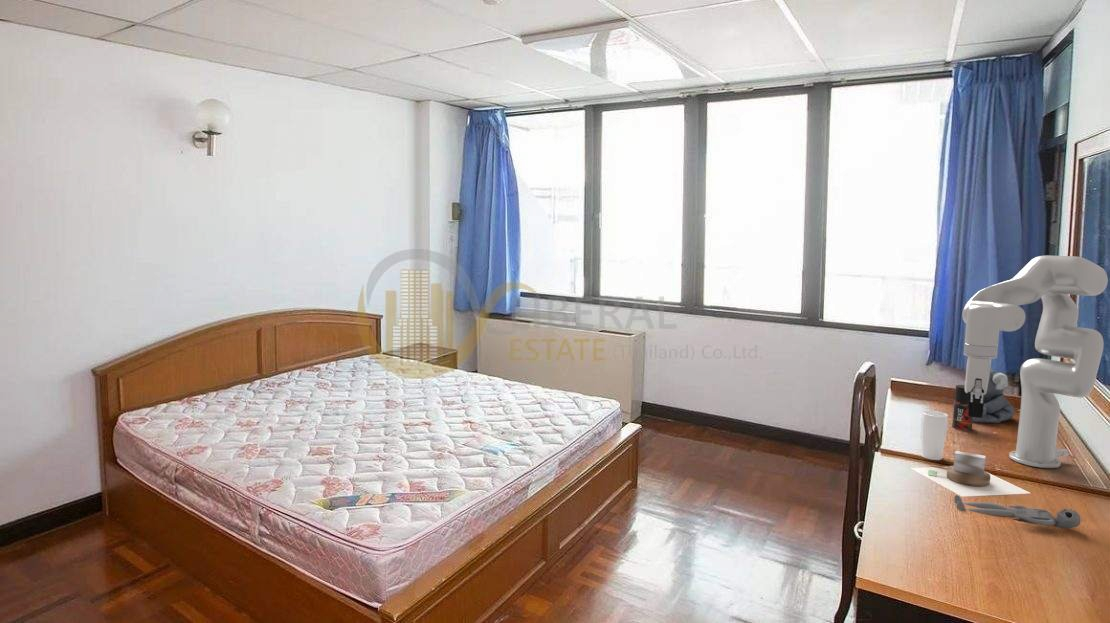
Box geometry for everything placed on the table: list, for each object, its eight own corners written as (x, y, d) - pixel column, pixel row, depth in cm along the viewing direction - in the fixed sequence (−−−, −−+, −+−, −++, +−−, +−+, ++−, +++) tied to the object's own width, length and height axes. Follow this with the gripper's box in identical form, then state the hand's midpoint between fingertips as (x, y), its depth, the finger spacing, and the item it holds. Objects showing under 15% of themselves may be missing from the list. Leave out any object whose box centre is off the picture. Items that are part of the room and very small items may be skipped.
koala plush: (949, 410, 251) (953, 361, 249) (999, 412, 249) (1004, 363, 246) (971, 423, 234) (976, 371, 232) (1025, 426, 232) (1030, 373, 229)
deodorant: (971, 427, 229) (975, 386, 227) (971, 431, 224) (975, 389, 222) (952, 424, 232) (955, 384, 230) (951, 428, 227) (955, 387, 225)
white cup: (947, 466, 190) (952, 417, 188) (922, 464, 192) (927, 415, 190) (939, 458, 197) (943, 411, 195) (915, 456, 198) (919, 409, 196)
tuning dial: (990, 477, 177) (992, 453, 176) (989, 489, 169) (991, 463, 168) (931, 466, 185) (933, 443, 184) (928, 477, 177) (930, 452, 176)
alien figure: (953, 490, 163) (1075, 504, 153) (952, 508, 164) (1074, 524, 153) (958, 502, 156) (1086, 518, 146) (957, 521, 157) (1085, 538, 146)
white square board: (972, 470, 187) (972, 464, 187) (1030, 498, 167) (1031, 492, 167) (909, 473, 185) (909, 467, 184) (961, 502, 165) (962, 495, 165)
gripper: (964, 344, 181) (958, 403, 184) (963, 354, 167) (958, 418, 169) (996, 347, 177) (990, 407, 180) (998, 357, 163) (992, 423, 165)
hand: (974, 412), depth 174 cm, fingers open, 9 cm apart
